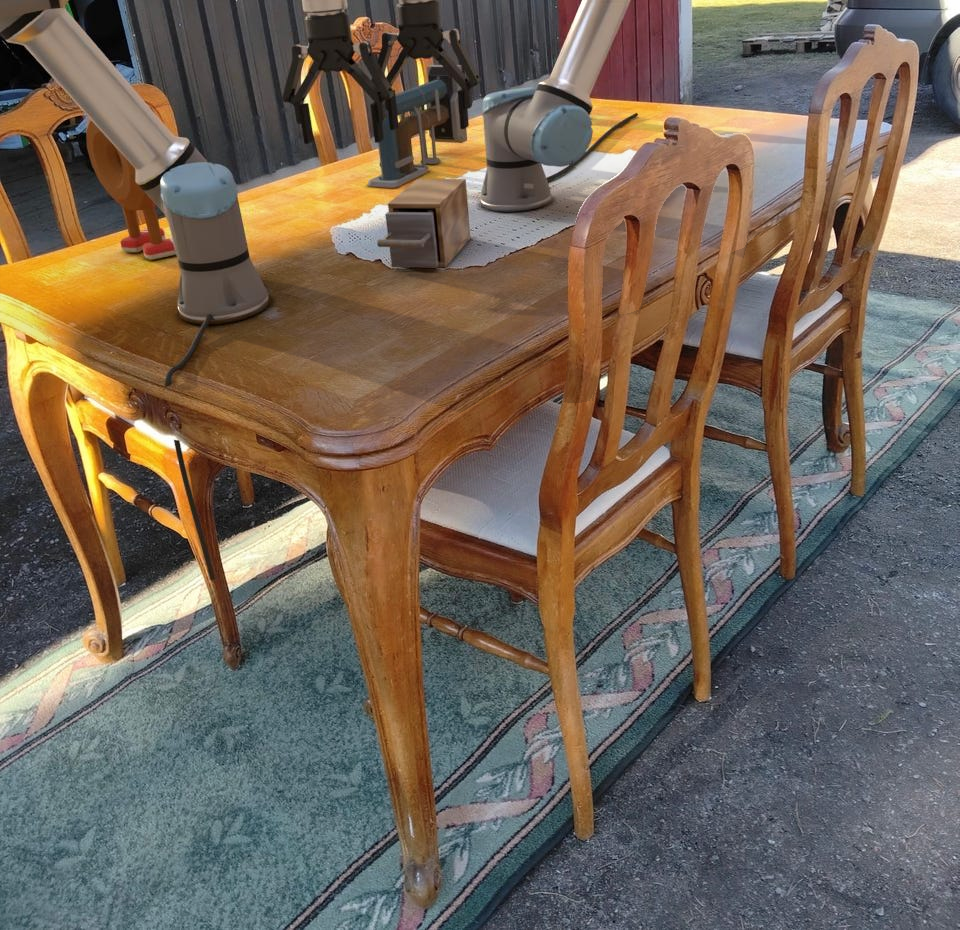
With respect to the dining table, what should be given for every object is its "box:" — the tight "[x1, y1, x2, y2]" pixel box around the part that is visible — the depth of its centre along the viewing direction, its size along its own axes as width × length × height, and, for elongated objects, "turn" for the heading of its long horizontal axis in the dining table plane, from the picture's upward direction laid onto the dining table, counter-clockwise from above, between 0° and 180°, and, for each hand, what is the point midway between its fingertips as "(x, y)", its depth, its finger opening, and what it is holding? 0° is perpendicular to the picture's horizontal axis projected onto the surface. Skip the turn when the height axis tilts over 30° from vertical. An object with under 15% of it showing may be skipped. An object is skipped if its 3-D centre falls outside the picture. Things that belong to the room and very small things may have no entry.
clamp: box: [367, 64, 468, 189], centre depth 236 cm, size 35×9×21 cm, turn 151°
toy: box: [85, 116, 177, 261], centre depth 190 cm, size 21×10×30 cm, turn 47°
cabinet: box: [387, 178, 471, 268], centre depth 182 cm, size 16×10×12 cm, turn 164°
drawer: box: [376, 208, 440, 269], centre depth 176 cm, size 21×9×10 cm, turn 164°
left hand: (344, 141), depth 175 cm, fingers open, 13 cm apart
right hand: (429, 128), depth 177 cm, fingers open, 13 cm apart
